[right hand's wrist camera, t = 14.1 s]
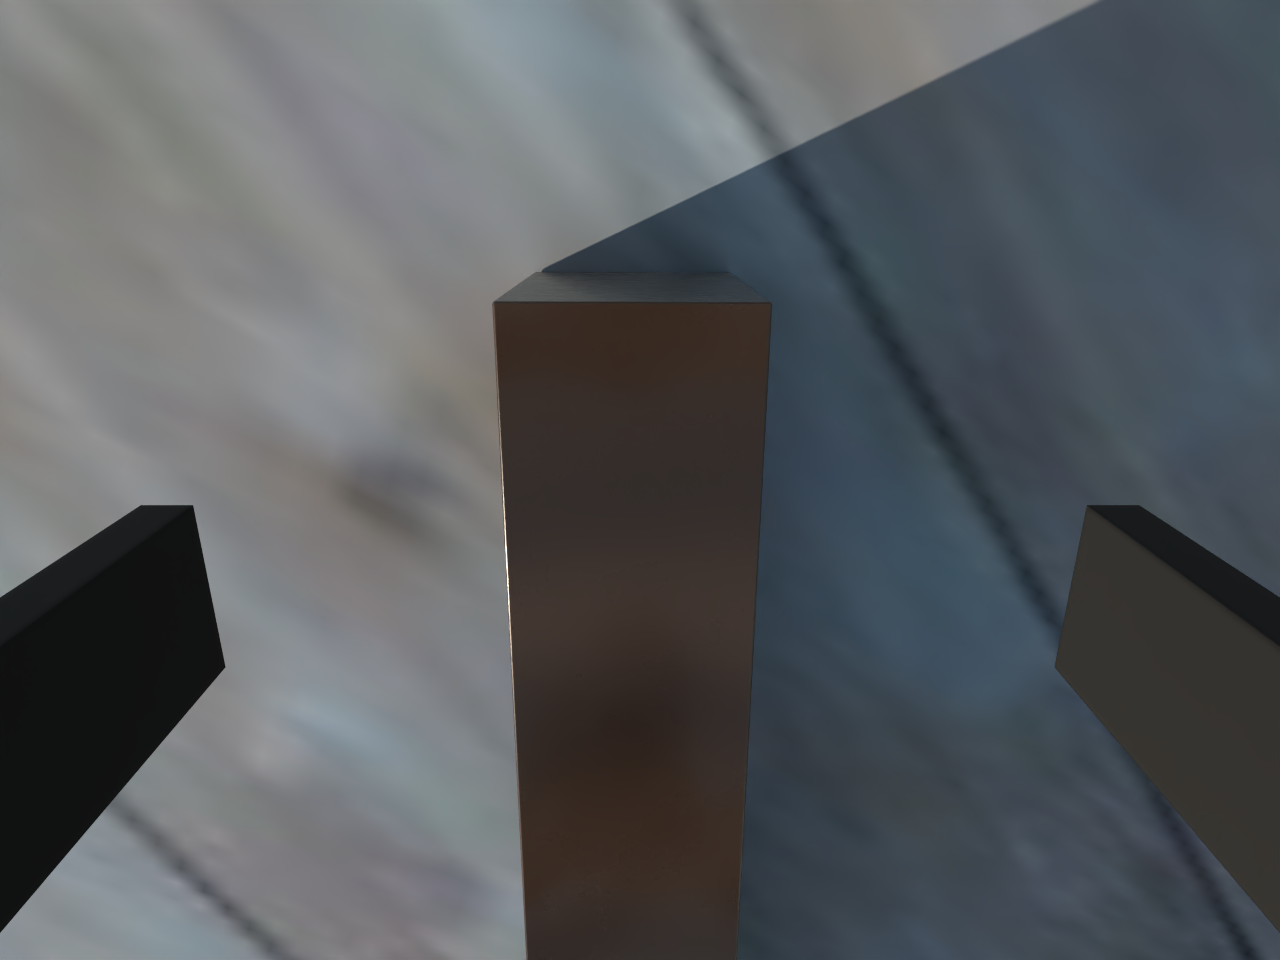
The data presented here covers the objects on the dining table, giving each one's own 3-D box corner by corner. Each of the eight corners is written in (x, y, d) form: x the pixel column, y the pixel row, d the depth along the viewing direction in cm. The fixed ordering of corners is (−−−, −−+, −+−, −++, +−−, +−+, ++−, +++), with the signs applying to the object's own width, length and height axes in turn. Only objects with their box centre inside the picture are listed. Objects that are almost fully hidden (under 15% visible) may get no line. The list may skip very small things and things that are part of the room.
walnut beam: (534, 271, 25) (491, 301, 18) (730, 272, 25) (772, 301, 18) (564, 1106, 37) (546, 1341, 29) (699, 1105, 37) (716, 1341, 29)
